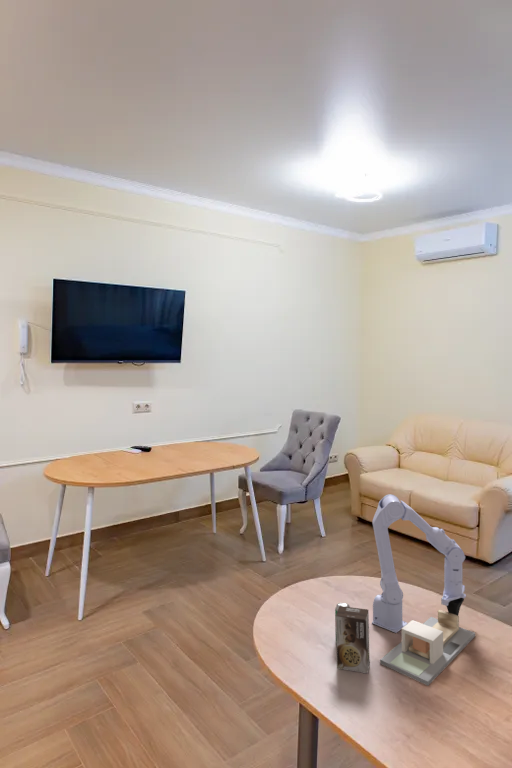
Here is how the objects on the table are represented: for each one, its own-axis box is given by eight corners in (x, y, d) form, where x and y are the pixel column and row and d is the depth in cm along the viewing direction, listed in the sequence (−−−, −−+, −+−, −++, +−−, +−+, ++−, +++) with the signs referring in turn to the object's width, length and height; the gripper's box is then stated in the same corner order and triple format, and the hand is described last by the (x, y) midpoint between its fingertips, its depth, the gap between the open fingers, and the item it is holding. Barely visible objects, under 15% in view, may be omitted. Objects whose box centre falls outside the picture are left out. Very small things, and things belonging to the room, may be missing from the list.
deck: (380, 663, 148) (380, 659, 148) (431, 620, 172) (431, 616, 172) (428, 685, 137) (428, 681, 137) (475, 636, 161) (475, 632, 161)
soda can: (351, 647, 156) (350, 610, 156) (335, 646, 157) (334, 609, 157) (351, 638, 161) (351, 602, 161) (335, 637, 162) (335, 601, 162)
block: (413, 648, 151) (413, 635, 151) (419, 642, 154) (419, 630, 154) (425, 653, 148) (425, 640, 148) (431, 647, 151) (431, 634, 151)
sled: (408, 650, 151) (408, 635, 151) (439, 622, 167) (439, 609, 167) (428, 658, 147) (428, 643, 147) (458, 629, 163) (458, 616, 162)
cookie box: (370, 661, 149) (369, 609, 148) (367, 674, 143) (367, 619, 142) (339, 656, 152) (339, 604, 151) (336, 668, 146) (335, 615, 145)
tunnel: (401, 650, 152) (401, 628, 152) (412, 641, 157) (412, 619, 157) (433, 664, 145) (432, 640, 145) (443, 654, 150) (443, 631, 150)
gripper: (456, 590, 159) (456, 631, 159) (473, 575, 169) (473, 614, 170) (435, 583, 164) (435, 623, 164) (453, 569, 174) (453, 607, 174)
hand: (453, 618), depth 167 cm, fingers closed
